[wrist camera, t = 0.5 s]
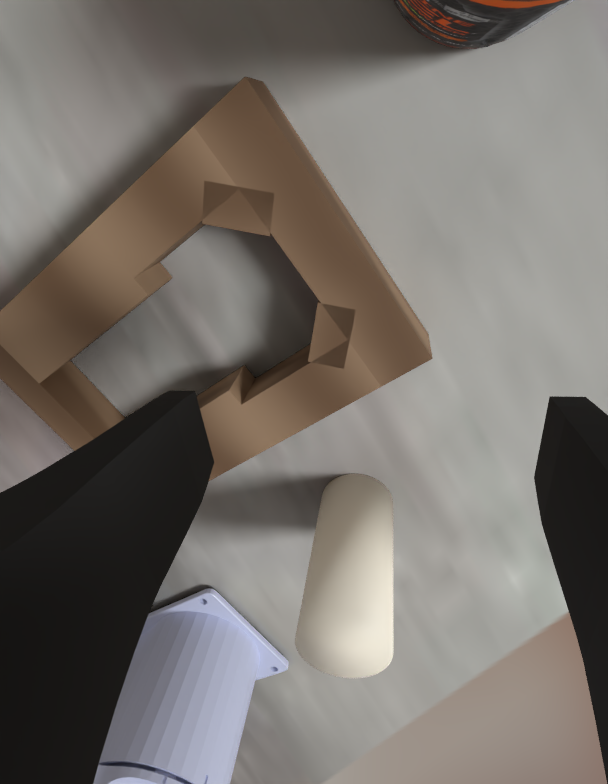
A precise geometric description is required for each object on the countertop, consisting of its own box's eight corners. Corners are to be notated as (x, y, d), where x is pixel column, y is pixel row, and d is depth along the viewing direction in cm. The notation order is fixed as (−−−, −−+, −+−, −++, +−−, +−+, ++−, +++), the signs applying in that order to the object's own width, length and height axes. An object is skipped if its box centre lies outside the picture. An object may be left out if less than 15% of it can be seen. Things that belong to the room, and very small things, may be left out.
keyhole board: (162, 486, 27) (142, 517, 25) (3, 324, 23) (-35, 344, 21) (428, 334, 20) (432, 358, 18) (263, 81, 17) (245, 76, 15)
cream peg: (347, 538, 26) (331, 687, 19) (307, 491, 25) (275, 632, 18) (406, 513, 25) (412, 664, 18) (367, 462, 24) (357, 603, 17)
